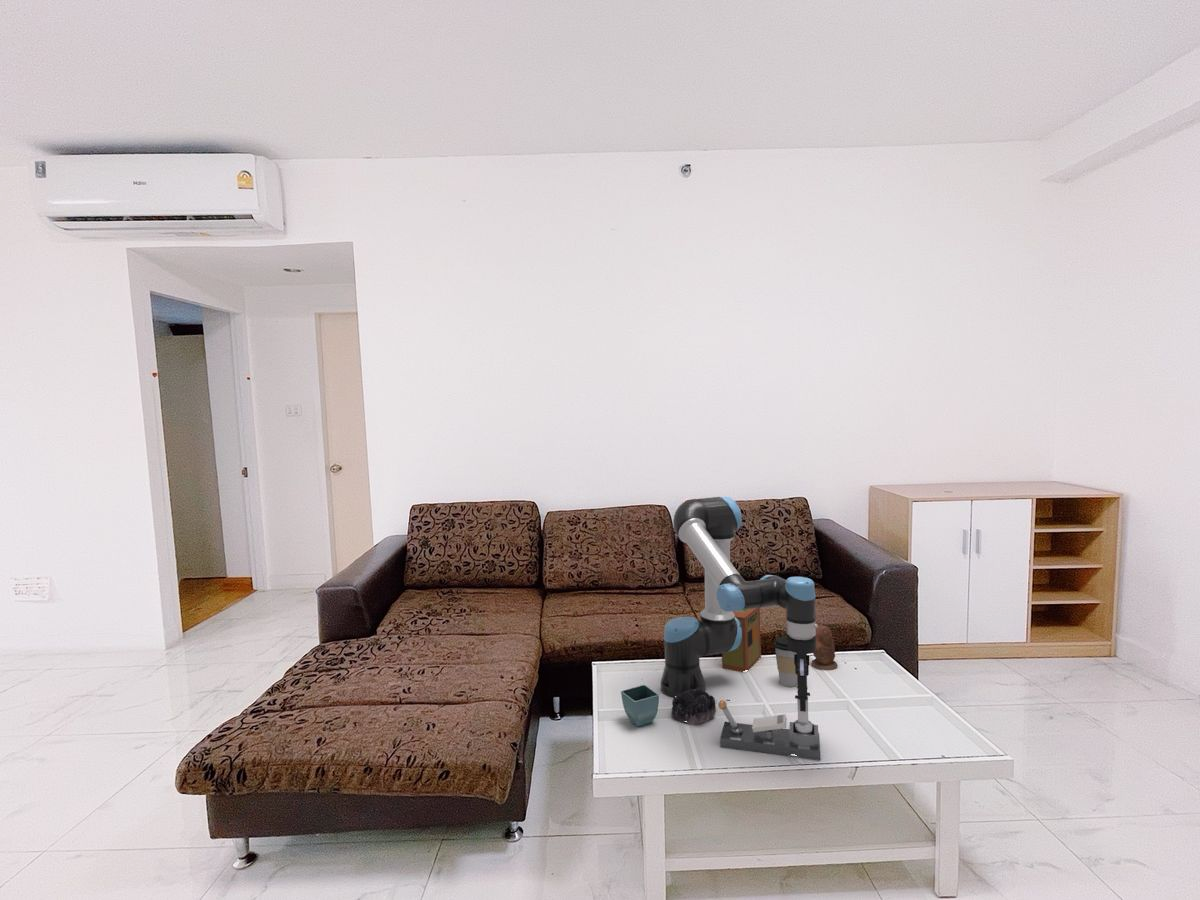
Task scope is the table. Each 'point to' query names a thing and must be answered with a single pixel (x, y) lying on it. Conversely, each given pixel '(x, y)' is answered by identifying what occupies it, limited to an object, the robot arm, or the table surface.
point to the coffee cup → (785, 662)
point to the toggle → (727, 713)
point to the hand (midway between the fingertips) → (803, 720)
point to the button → (803, 727)
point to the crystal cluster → (693, 706)
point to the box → (745, 642)
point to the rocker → (769, 723)
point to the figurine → (824, 649)
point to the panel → (772, 740)
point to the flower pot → (640, 704)
